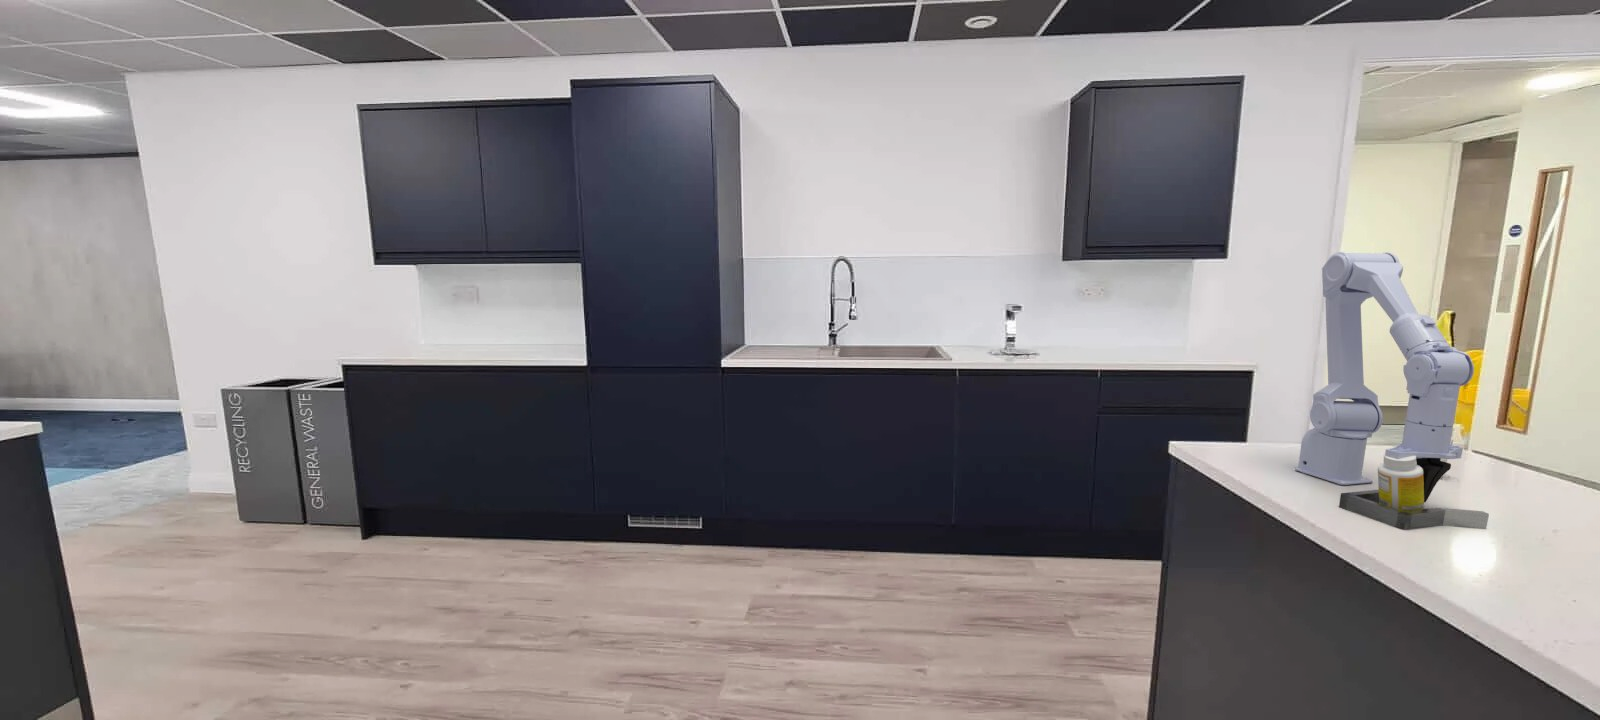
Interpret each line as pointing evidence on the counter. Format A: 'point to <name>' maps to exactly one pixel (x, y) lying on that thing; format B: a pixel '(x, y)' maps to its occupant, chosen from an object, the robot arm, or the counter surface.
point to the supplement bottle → (1401, 483)
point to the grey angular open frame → (1410, 513)
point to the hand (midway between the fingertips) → (1416, 500)
